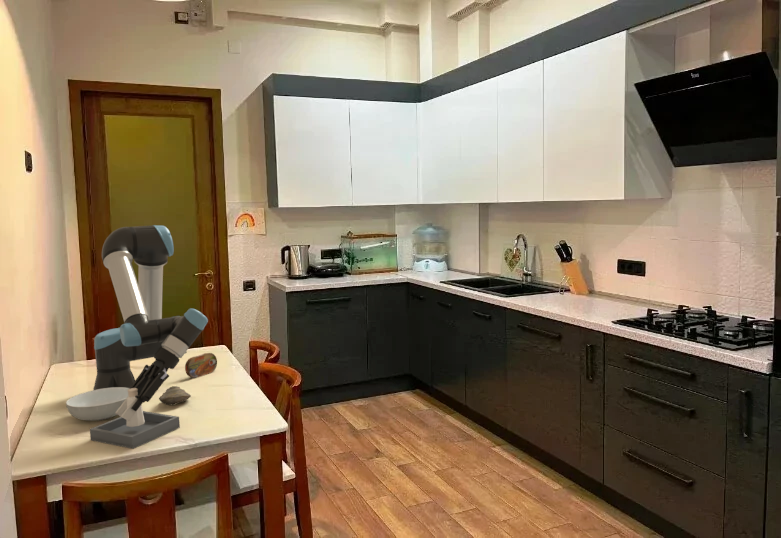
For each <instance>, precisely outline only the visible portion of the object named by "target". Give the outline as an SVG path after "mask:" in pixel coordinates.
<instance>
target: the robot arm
mask: <svg viewBox="0 0 781 538" xmlns="http://www.w3.org/2000/svg"><path fill="white" fill-rule="evenodd" d="M174 247H175V246H174V240H173V237H172V235H171V232H170V230H169V228H167V226H165V225H156V224H153V225H138V226H137V225H135V226H123V227H119V228H117V229H115V230H113V231H112V232H111V233H110V234H109V235H108V236H107V237H106V239H105V240H104V243H103V245H102V249H101V259H102V263H103V266H104V267H105V268H106V269H108V271H109V277H110V278H111V282H112V285H113V286H112V287H113V288H114V292H115V295H116V298H117V302H118V306H119V309H120V312H121V315H122V318H123V324H121V325H120V327H118V328H110V329H107V330H104V331H102V332H99V333H97V334H96V335H95V337H94V338H93V340H94V341H93V342H94V344H93V345H94V346H93V349H94V353H95V355H94V356H95V366H96V376H95V381H94V386H93V388H92V390H97V389H103V388H113V387H125V388H129V389H131V388H137V389H138V390H137V392H138V396H135V397H136V398H134V400H133V401H132V402H131V404H130V405H129V406H128V408H127V398H128V397H129V396H128V397H127V398H126V399H125V401H124V402H123V403H122V405H121V406H120V407H119V409H118V410H117V411H116V414H117V415H116V416H118V417H122V418H124V419H126V420H127V421H130V419H131V418H132V417H133V415H134V414H135V413H136V411H137V410H138V409H139V407H140V406H141V405H142V404H143V403H145V402H146V403H148V402H150V400H151V399H152V398H153V396H154V395H155V394H156V393H157V391H159V389H160V387H161V386H162V385H163V383H164V382H165V381H166V380H168V378H169V377H170V375H169V373H167V372H168V370H169V369H171V370H173V369H175V368H176V367H177V365H178V363H179V362H180V359H182V358H183V356H184V355H185V354H187V351H188V350H189V349H190V347H191V346H192V345H193V343H194V342H195V341H196V339H197V338H198V337H199V335H200V334H201V333H202V332H203V331H204V330H205V327H206V326H207V324H208V322H209V319H208V317H207V316H206V315H204V314H203V312H201V311H199V310H198V309H195V308H191V307H190V308H188V310H187V311H186V312H185V313H183V315H181V316H180V315H176V316H174V315H173V316H171V317H165V318H163V286H164V285H163V283H164V281H163V280H164V279H163V278H164V277H163V276H164V266H165V265H167V264H168V257H171V256H173V255H174V251H175V250H174V249H175V248H174ZM133 261H134V263H135V264H136V265H137V266H138V272H137V273H138V276H136V274H135V270H134V268H133V264H132V263H133ZM137 277H138V278H137ZM137 279H138V280H137ZM150 358H154V359H155V360H154V361H153V362H152V363H151V364H150V365H148V364H145V365H144V367H143V368H142V370H141V372H140V373H139V375H138V376H137V377H136V379H135V376H134V374H133V371H132V369H131V362H135V361H139V360H145V359H150Z"/></svg>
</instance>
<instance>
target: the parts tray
mask: <svg viewBox="0 0 781 538" xmlns="http://www.w3.org/2000/svg"><path fill="white" fill-rule="evenodd" d="M143 415H144V420H145V422H144V424H142V425H140V426H136V427H128V426H126V422H127V420H126V419H124V418H122V417H121V416H118V417H117V418H114V419H112V420H109V421H107V422H104V423H102V424H99V425H96V426H94V427H91V428H89V435H90V436H89V438H90V441H93V442H98V443H101V444H106V445H107V444H108V445H112V446H118V447H122V448H127V449H132V450H134V449H136V448H138V447H141V446H143V445H145V444H147V443H149V442H151V441H154V440H156V439H158V438H160V437H162V436H165V435H167V434H169V433H172V432H173V431H175V430H177V429H180V428H181V425H180V416H177V415H169V414H164V413H159V412H158V413H157V412H151V411H145V410H143Z"/></svg>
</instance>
